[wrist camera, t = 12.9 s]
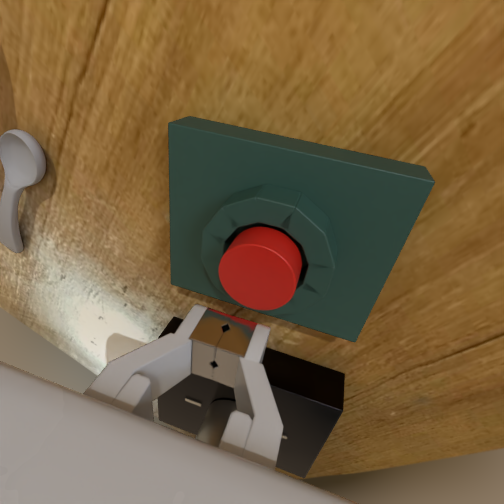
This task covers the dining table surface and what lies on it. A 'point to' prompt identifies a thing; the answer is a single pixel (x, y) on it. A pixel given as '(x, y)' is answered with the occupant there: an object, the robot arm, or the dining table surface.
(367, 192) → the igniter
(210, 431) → the hob knob
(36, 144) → the spoon
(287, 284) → the button
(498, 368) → the dining table surface
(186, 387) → the hob panel
